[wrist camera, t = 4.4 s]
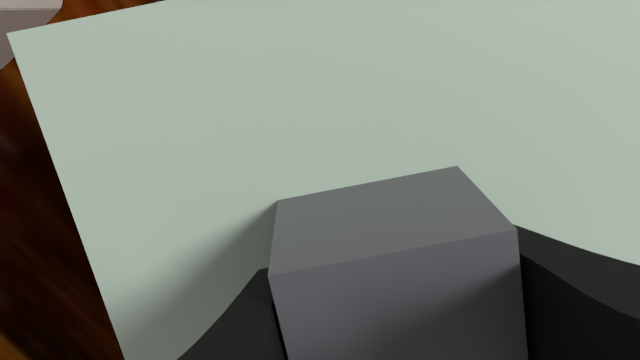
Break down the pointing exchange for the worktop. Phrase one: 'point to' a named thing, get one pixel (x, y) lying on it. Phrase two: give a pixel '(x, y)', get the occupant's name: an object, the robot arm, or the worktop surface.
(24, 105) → the worktop surface
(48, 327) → the worktop surface
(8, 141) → the worktop surface
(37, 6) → the bowl
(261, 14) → the lid
